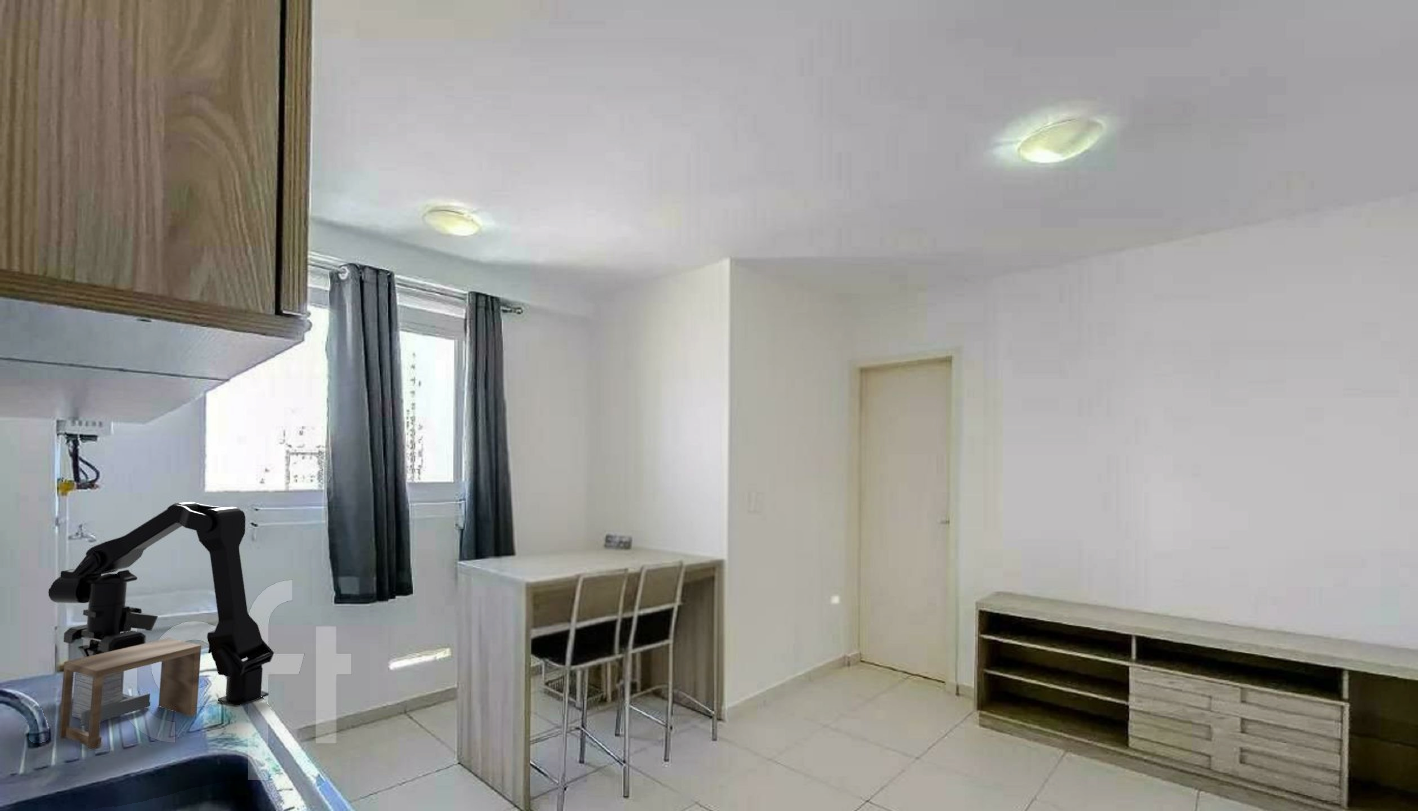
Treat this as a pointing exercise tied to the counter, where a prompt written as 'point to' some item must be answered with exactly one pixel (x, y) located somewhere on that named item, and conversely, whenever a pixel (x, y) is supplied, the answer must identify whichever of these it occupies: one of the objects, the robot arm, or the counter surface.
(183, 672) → the walnut shelf
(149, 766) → the counter surface
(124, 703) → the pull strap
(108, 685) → the medicine box
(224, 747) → the counter surface
